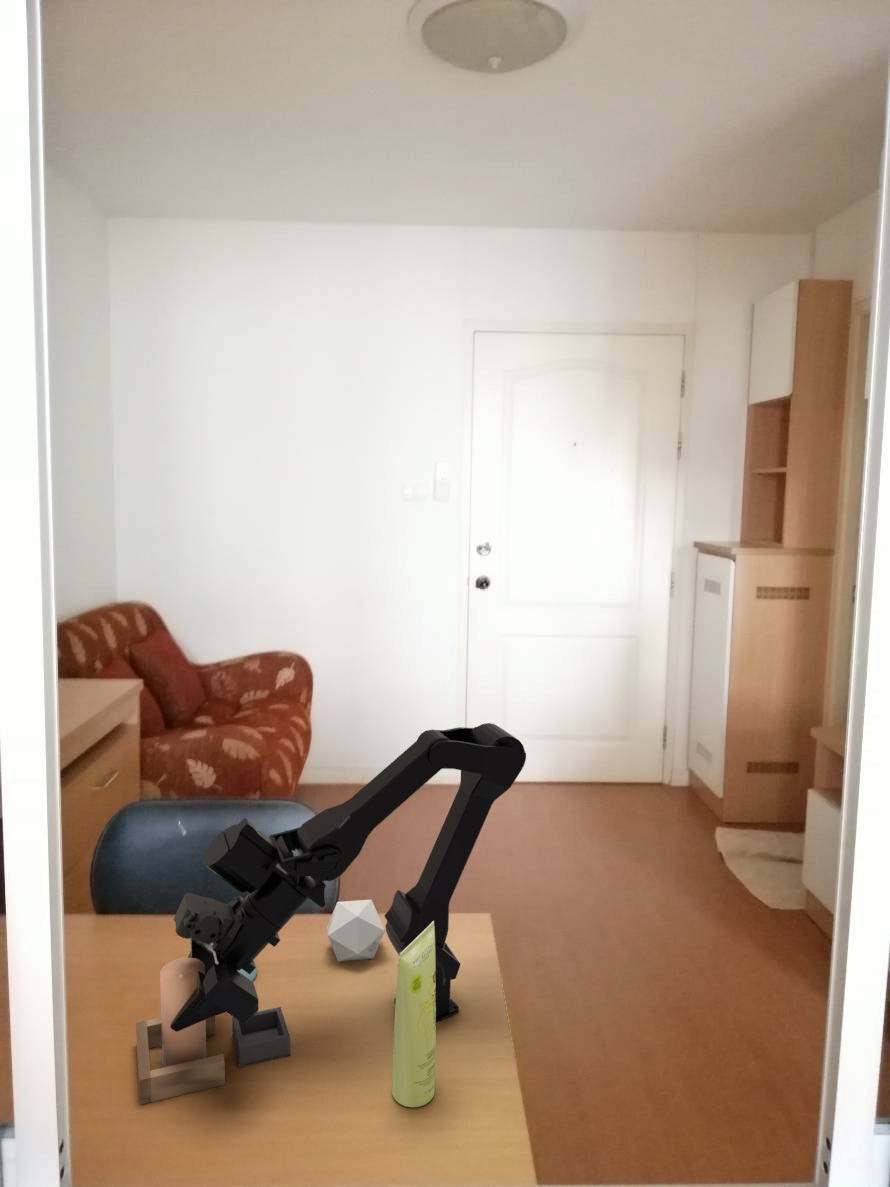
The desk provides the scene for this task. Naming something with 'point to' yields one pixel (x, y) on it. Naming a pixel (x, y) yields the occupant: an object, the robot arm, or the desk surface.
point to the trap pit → (261, 1037)
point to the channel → (174, 1067)
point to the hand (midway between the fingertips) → (171, 1014)
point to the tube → (415, 1022)
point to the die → (355, 930)
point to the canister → (175, 992)
